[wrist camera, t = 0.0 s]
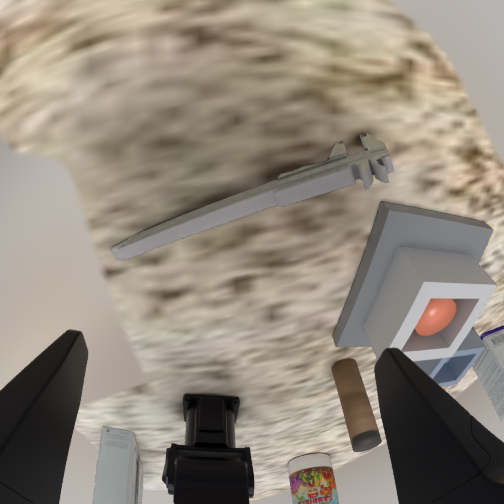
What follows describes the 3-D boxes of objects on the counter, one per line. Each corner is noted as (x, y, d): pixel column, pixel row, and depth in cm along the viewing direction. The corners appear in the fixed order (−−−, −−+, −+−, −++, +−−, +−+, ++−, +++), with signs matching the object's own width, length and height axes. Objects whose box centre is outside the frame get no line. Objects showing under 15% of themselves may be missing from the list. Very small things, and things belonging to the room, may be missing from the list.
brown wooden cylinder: (351, 373, 34) (374, 449, 25) (328, 374, 33) (348, 453, 25) (359, 358, 32) (386, 437, 24) (336, 358, 32) (359, 441, 24)
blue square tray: (447, 364, 36) (457, 383, 33) (407, 369, 35) (417, 391, 32) (472, 327, 32) (485, 346, 29) (433, 329, 31) (446, 352, 28)
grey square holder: (428, 333, 31) (450, 373, 26) (332, 335, 30) (347, 385, 25) (484, 221, 24) (523, 257, 19) (381, 201, 23) (418, 242, 17)
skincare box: (146, 472, 51) (141, 540, 37) (120, 467, 50) (112, 535, 36) (137, 431, 40) (126, 528, 26) (102, 424, 39) (85, 518, 25)
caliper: (363, 130, 20) (407, 155, 15) (368, 144, 20) (411, 174, 15) (110, 245, 24) (83, 297, 18) (118, 256, 24) (94, 309, 19)
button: (434, 321, 25) (442, 334, 24) (400, 322, 25) (408, 336, 23) (453, 286, 23) (463, 299, 22) (419, 284, 23) (429, 299, 21)
